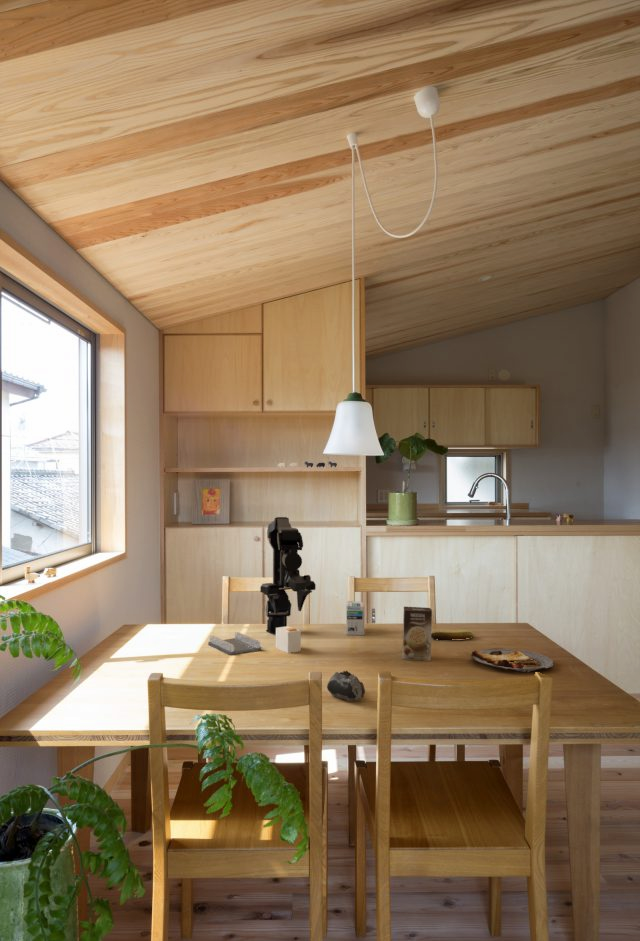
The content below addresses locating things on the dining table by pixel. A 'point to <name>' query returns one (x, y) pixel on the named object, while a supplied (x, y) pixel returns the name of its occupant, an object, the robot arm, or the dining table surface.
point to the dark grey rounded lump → (346, 686)
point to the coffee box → (417, 633)
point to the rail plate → (235, 644)
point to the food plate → (511, 659)
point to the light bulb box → (354, 618)
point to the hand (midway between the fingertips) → (288, 612)
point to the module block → (288, 639)
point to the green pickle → (451, 635)
